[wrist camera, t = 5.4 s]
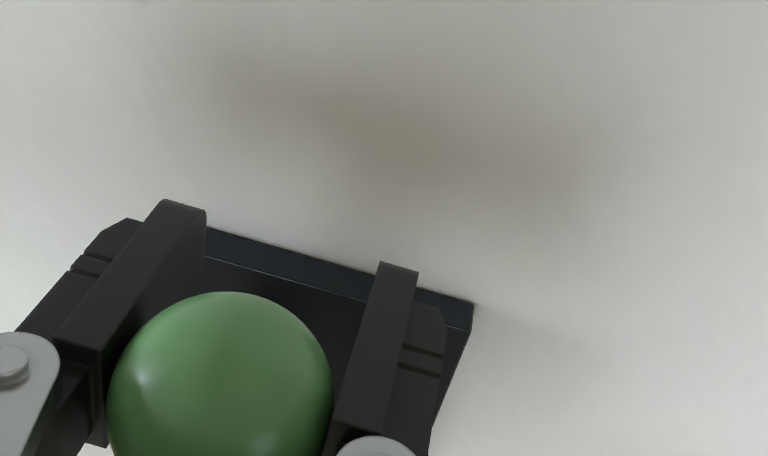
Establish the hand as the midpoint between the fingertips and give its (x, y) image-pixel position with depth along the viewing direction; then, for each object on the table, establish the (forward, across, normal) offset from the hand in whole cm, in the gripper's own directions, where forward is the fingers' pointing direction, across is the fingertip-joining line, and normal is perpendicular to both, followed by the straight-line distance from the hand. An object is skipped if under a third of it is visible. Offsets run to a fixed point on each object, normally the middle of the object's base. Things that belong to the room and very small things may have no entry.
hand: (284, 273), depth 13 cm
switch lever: (-2, 0, +5) cm, 6 cm away
